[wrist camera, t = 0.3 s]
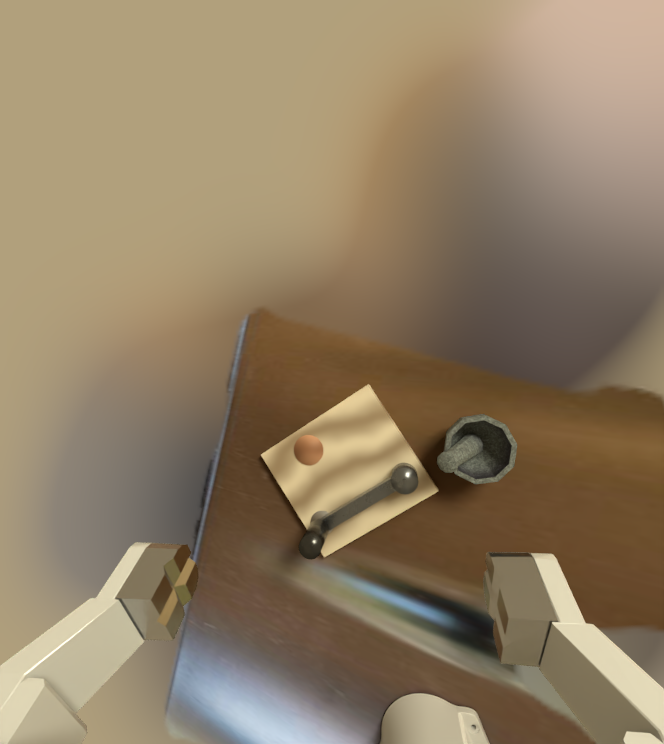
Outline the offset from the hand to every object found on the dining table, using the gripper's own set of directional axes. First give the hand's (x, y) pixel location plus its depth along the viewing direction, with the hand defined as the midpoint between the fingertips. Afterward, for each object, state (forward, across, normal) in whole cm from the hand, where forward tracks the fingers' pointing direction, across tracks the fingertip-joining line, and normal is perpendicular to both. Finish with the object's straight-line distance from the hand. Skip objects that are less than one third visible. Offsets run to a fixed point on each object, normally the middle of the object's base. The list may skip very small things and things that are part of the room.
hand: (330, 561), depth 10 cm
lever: (+37, -3, -37) cm, 53 cm away
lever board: (+42, -6, -35) cm, 55 cm away
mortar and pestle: (+44, +13, -31) cm, 55 cm away
